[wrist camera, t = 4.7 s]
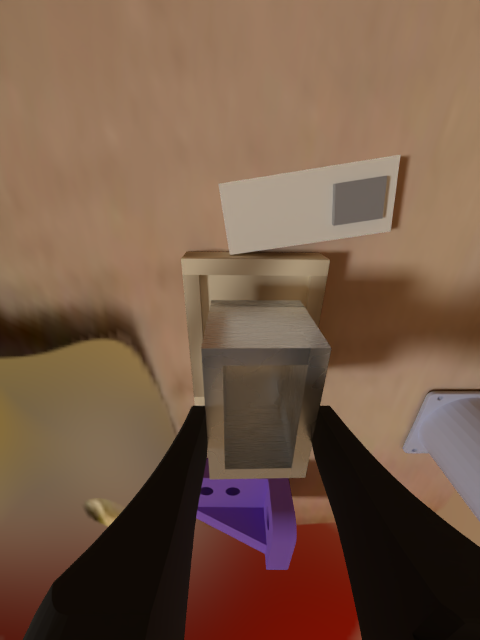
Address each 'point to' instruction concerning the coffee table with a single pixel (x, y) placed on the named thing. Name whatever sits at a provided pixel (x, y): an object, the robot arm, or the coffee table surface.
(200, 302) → the beige shallow tray
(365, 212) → the block
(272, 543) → the bracket
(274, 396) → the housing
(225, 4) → the coffee table surface
